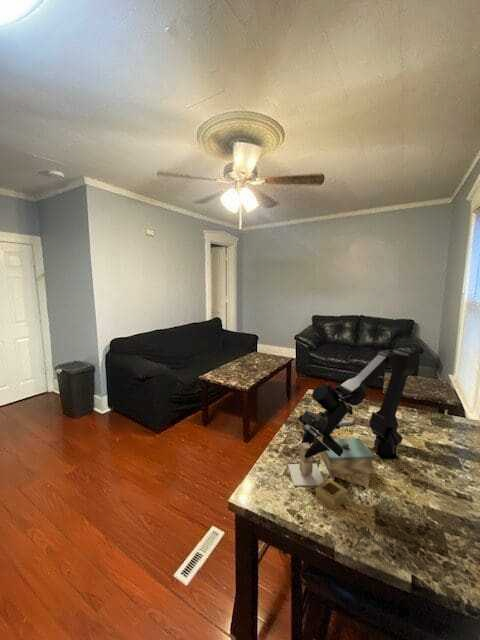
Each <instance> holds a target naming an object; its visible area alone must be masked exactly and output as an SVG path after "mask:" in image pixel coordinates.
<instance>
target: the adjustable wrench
mask: <svg viewBox="0 0 480 640" xmlns="http://www.w3.org/2000/svg"><path fill="white" fill-rule="evenodd" d="M353 424H354V419H353V417H350V419H346V416H345V417H344V418H343V419H342V420H341V422H339V424H338V426H339V427H341V426H352V425H353ZM317 431H318V430H317ZM317 433H318V432H317ZM314 436H315V437H316V438H317V437H319V436H318V435H317V434H316V433H315V435H314Z"/></svg>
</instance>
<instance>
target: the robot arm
mask: <svg viewBox="0 0 480 640" xmlns="http://www.w3.org/2000/svg"><path fill="white" fill-rule="evenodd" d="M419 363H420V357H419V355H418V354H417V353H416V352H414V351H411V350H407V349H403V348H400V347H399V348H396V349H395V350H391V349H387V350H379V351H378V352H377V355H376V356H375V357H374V358H373V359H372V360H371V361H370V362H369V364H367V365H366V366H365V367H364V368H363V369H362V370H361V371H360V372H359V373H358V374H357V375H356V376H355V377H352V378H349V379H347V380H346V381H344V382H343V383H341V384H340V385H339V386H336V387H332V386H331V384H329V383H327V382H325V383H324V384H323V385H319V386H317V387H315V388H314V389H313V391H312V393H311V397H312V399H313V400H314V401H315V402H316V403H317V404H318V405H319V406H320V407H321V408H323V410H324V411H319V412H318V413H315V412H312V411H311V410H310V411H309V410H304V413H303V414H300V415H299V416H298V417H297V420H298V421H299V423H301V424H302V428H303V436H302V439H301V442H300V444H301V443H305V442H309V443H310V444H311V447H310V448H309V449H308V451H307V452H306V454H305V456H304V457H305V458H309V457H311V456H313V457H314V456H315V455H319V454H321V452H324V451H327V450H328V451H330V450H329V448H330V449H331V450H332V451H333V452H334V453H335V454H337V455H338V456H339V457H340V456H341V455H342V453H343V447H341V446H340V445H339V444H338V443H337V442H336V441H335V440H334V439H335V438H333V436H332V435H331V434H332V433H333V432H334V430H339V429H340V428H341V426H338V424H339V422H341V420H342V419H343V418H344V417H345V418H346V416H347V414H349V415H351V416H353V415H354V412H353V406H359V404H361V403H362V401H363V400H364V399H365V398H366V396H367V392H368V388H369V387H370V386H371V385H372V384H373V383H374V382H375V381H376V380H377V379H378V378H379V377H380V376H381V375H382V374H383V373H384V372H385V371H386V369H388V367H390V368H391V375H390V377H389V381H388V384H387V387H386V390H385V393H384V397H383V400H382V403H381V405H380V409H379V410H378V411H376V412H374V411H373V412H372V413H371V417H370V419H369V427H370V430H371V431H372V432H371V433H372V434H374V435H375V439H374V445H373V447H372V450H373V451H374V452H375V453H376V454H377V456H378V457H379V458H380V459H382V460H395V459H396V460H397V459H398V460H399V459H400V456H399V455H398V454H397V448H398V446H399V444H401V443H402V442H403V436H402V435H401V434H400V433H399V432H398V427H399V424H398V419H397V415H396V414H397V413H398V408H399V405H400V402H401V399H402V396H403V393H404V390H405V387H406V383H407V379H408V378H409V377H410V375H412V374H413V373H414V372H416V369H417V368H418V365H419ZM317 430H318V431H317ZM317 432H318V433H317ZM315 433H316V434H317V435H318V436H316V437H315V436H314V435H315ZM318 437H319V438H318ZM298 451H299V452H300V447H299V449H298Z"/></svg>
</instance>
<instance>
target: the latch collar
mask: <svg viewBox="0 0 480 640" xmlns="http://www.w3.org/2000/svg"><path fill="white" fill-rule="evenodd" d="M347 496H348V490H347V488H344V487H343V486H342V485H340V484H338V483H337V482H335V481H334V480H332V479H331V478H326V479H324V482H323V483H321V484H320V485H319V486H315V498H317V500H320V501H321V502H323V503H324V504H325V505H327V506H328V507H329V508H331V509H332V510H334V511H335V510H336V509H337V508H338V507H339V506H340V505H342V503H344V502H345V501H346V500H347Z"/></svg>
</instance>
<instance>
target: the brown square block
mask: <svg viewBox="0 0 480 640" xmlns="http://www.w3.org/2000/svg"><path fill="white" fill-rule="evenodd" d="M311 445H312V444H310V443H309V442H305V443H301V442H300V444H299V448H300V451H299V464H300V471H301V472H302V474H303V475H304V476H306V475H310V474H312V469H313V464H314V463H313V459H314V458H313V457H314V455H313V456H311V457H309V458H305V457H304V456H305V454H306V452H307V451H308V449H309V448H310V447H311Z"/></svg>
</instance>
